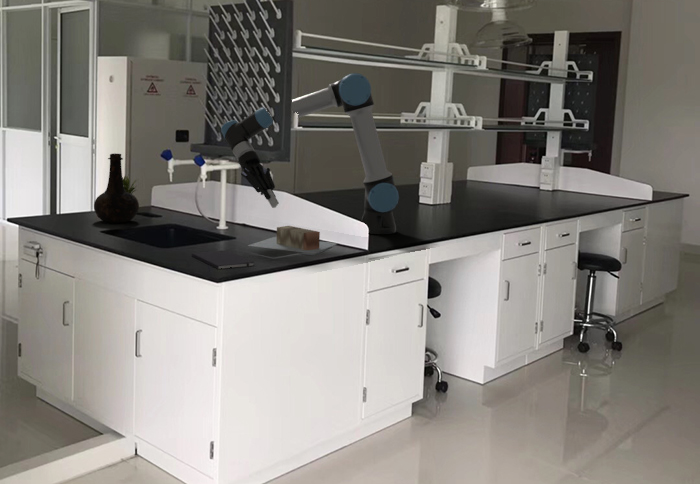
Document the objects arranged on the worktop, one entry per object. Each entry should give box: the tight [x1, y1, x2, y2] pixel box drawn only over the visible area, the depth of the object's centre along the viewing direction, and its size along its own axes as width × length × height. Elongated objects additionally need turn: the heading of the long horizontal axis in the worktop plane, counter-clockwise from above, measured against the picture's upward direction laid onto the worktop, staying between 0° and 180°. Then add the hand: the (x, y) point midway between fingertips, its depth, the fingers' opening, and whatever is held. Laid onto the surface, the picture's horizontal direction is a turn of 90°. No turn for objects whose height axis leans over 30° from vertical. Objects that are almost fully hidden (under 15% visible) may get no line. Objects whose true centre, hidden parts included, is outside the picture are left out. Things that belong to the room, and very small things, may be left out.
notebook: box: [191, 250, 254, 270], centre depth 255 cm, size 13×2×21 cm
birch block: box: [276, 225, 321, 250], centre depth 281 cm, size 6×6×16 cm
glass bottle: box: [93, 153, 140, 224], centre depth 319 cm, size 18×18×28 cm
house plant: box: [122, 174, 138, 195], centre depth 355 cm, size 14×14×16 cm
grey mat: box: [247, 235, 338, 256], centre depth 284 cm, size 22×26×1 cm
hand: (275, 205), depth 287 cm, fingers closed
